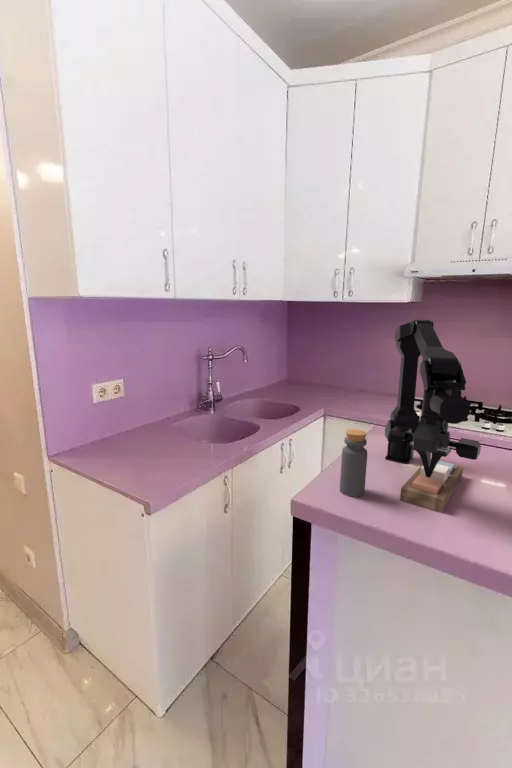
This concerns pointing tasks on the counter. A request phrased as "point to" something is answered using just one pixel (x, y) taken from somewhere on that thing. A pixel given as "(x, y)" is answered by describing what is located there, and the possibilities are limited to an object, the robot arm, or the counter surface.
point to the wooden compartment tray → (428, 498)
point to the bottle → (353, 464)
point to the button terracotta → (427, 484)
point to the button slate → (448, 466)
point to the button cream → (438, 473)
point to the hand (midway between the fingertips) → (428, 476)
